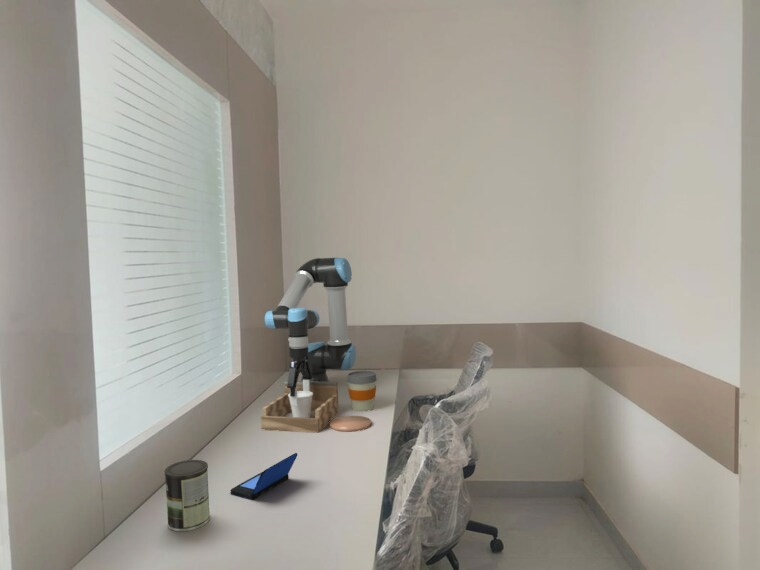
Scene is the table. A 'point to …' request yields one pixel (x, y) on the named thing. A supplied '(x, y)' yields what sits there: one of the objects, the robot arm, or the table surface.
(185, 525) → the coffee can
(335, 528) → the table surface
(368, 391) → the reusable coffee cup
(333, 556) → the table surface
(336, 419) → the saucer
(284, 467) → the handheld game console
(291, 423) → the frame
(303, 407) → the cup
